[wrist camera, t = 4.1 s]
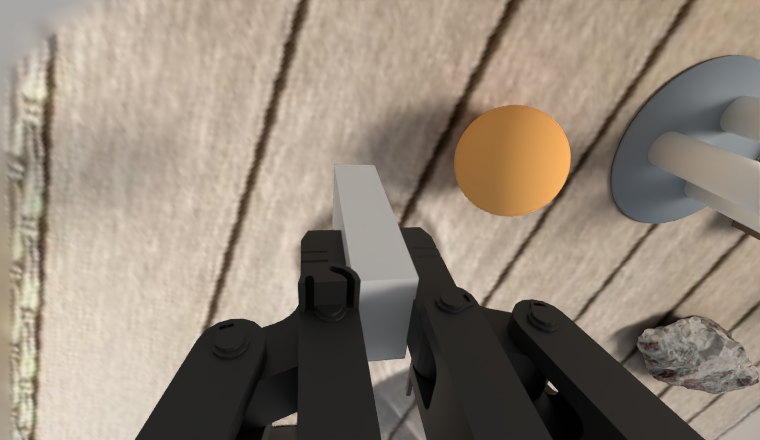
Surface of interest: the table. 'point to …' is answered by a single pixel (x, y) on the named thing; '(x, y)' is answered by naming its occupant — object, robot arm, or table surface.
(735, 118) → the pin
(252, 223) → the table surface
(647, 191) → the pin disc
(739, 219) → the pin
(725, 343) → the mineral rock
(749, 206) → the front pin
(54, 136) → the table surface
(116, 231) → the table surface
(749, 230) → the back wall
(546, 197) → the ball
